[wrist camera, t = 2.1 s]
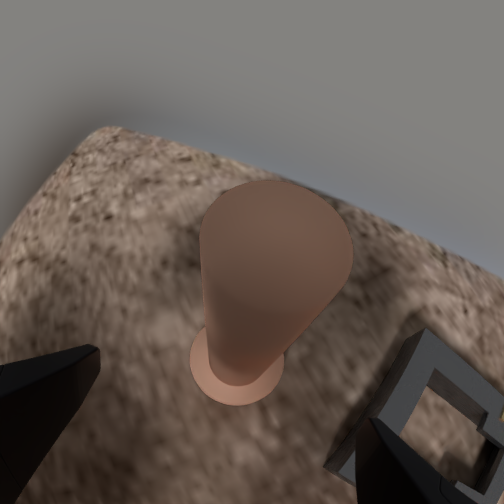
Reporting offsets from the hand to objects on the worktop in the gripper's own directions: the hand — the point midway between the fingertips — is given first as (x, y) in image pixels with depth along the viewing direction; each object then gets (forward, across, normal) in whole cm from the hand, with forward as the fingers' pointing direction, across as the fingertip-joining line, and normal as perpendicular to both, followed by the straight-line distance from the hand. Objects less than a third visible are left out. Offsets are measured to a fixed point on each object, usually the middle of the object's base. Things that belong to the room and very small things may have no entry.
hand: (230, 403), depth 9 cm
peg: (+10, 0, +5) cm, 12 cm away
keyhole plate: (+7, -18, +9) cm, 21 cm away
